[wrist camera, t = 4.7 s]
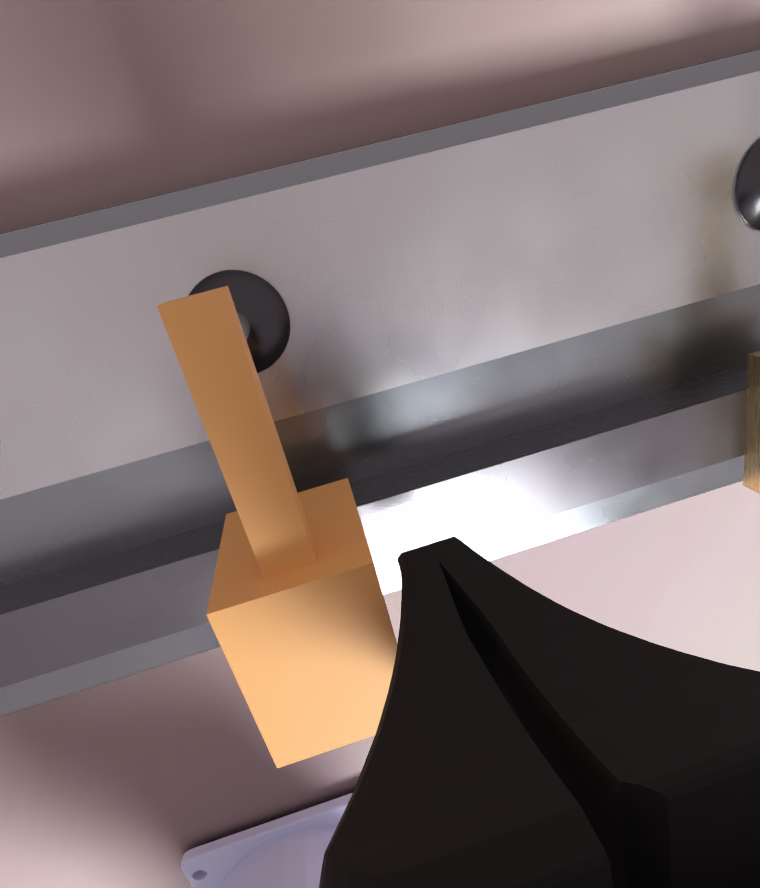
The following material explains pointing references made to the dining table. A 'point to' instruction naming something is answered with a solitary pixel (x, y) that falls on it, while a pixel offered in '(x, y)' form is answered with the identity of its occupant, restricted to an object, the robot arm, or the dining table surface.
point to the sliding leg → (282, 557)
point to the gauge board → (384, 356)
